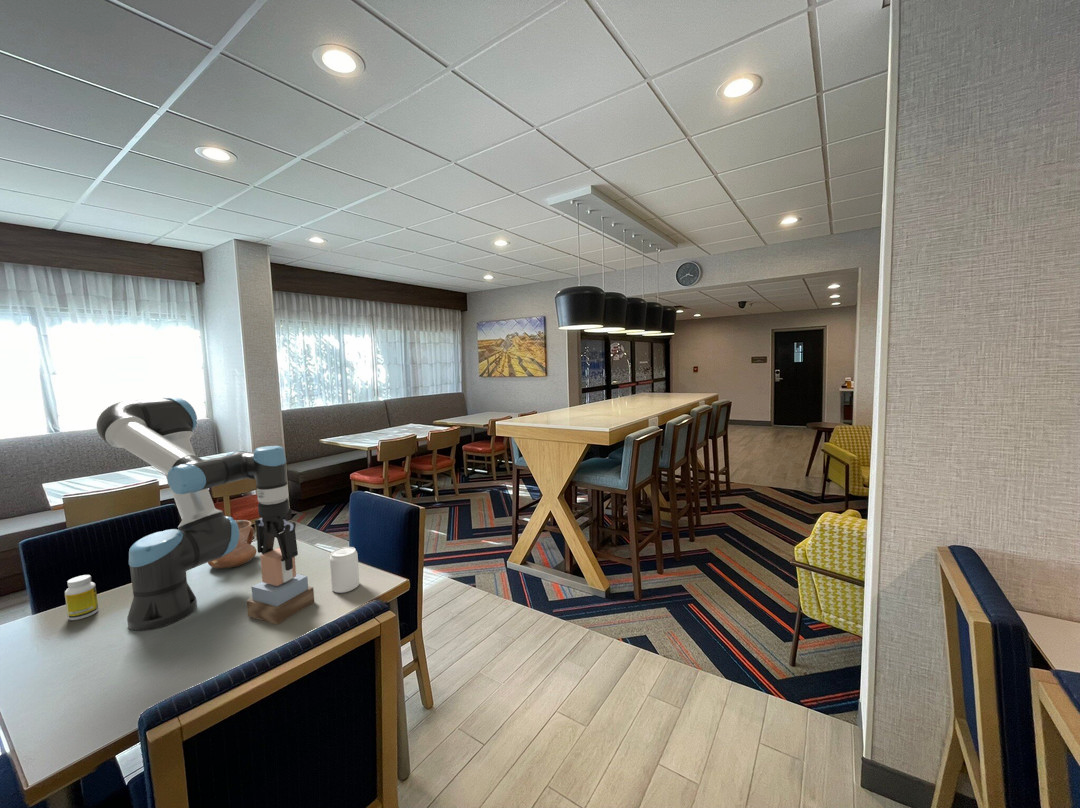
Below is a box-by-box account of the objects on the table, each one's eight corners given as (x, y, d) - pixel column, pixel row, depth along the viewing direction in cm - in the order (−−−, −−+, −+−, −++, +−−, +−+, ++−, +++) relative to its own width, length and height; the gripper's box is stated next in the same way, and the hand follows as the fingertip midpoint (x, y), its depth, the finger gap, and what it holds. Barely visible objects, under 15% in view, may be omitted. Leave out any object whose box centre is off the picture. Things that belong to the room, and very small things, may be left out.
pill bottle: (102, 611, 128) (98, 575, 127) (73, 623, 123) (69, 585, 122) (92, 607, 131) (88, 571, 130) (63, 618, 125) (59, 581, 124)
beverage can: (349, 595, 135) (346, 558, 134) (326, 593, 136) (323, 556, 135) (364, 582, 143) (362, 546, 141) (342, 580, 144) (340, 545, 143)
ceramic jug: (229, 576, 149) (226, 535, 148) (193, 572, 152) (191, 532, 150) (271, 554, 166) (269, 518, 165) (238, 551, 169) (236, 515, 168)
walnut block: (247, 617, 125) (246, 600, 124) (285, 596, 136) (284, 580, 135) (277, 625, 120) (276, 608, 120) (314, 603, 131) (313, 587, 131)
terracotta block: (262, 582, 125) (260, 555, 124) (281, 572, 131) (279, 547, 130) (277, 586, 123) (275, 558, 122) (296, 576, 128) (294, 550, 128)
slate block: (252, 599, 125) (251, 586, 124) (284, 583, 134) (283, 570, 133) (277, 606, 121) (275, 592, 120) (308, 589, 130) (307, 576, 130)
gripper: (237, 501, 125) (244, 578, 127) (285, 508, 118) (291, 590, 120) (262, 493, 132) (269, 567, 134) (309, 499, 124) (314, 577, 127)
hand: (279, 578), depth 127 cm, fingers closed on terracotta block, 6 cm apart
